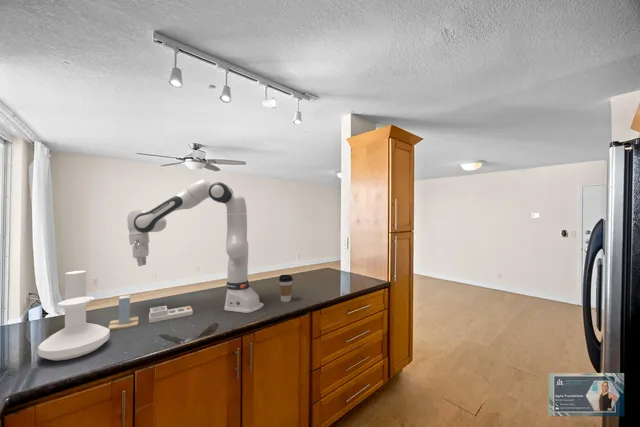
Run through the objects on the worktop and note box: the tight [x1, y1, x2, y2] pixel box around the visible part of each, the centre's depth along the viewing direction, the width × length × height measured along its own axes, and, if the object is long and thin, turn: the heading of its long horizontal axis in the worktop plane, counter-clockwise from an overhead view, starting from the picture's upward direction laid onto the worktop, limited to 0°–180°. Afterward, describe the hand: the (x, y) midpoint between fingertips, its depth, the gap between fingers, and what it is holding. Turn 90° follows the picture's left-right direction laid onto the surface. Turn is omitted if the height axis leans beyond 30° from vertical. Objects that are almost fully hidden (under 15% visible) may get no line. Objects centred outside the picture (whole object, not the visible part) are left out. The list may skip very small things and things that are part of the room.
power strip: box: [148, 305, 194, 324], centre depth 135 cm, size 19×9×4 cm, turn 124°
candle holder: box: [37, 296, 111, 362], centre depth 99 cm, size 20×20×19 cm
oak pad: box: [107, 315, 139, 332], centre depth 124 cm, size 11×11×1 cm
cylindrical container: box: [64, 270, 87, 328], centre depth 122 cm, size 7×7×25 cm
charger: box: [118, 294, 131, 325], centre depth 124 cm, size 5×4×12 cm
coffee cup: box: [278, 274, 294, 303], centre depth 160 cm, size 8×8×15 cm
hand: (142, 265), depth 142 cm, fingers open, 8 cm apart
